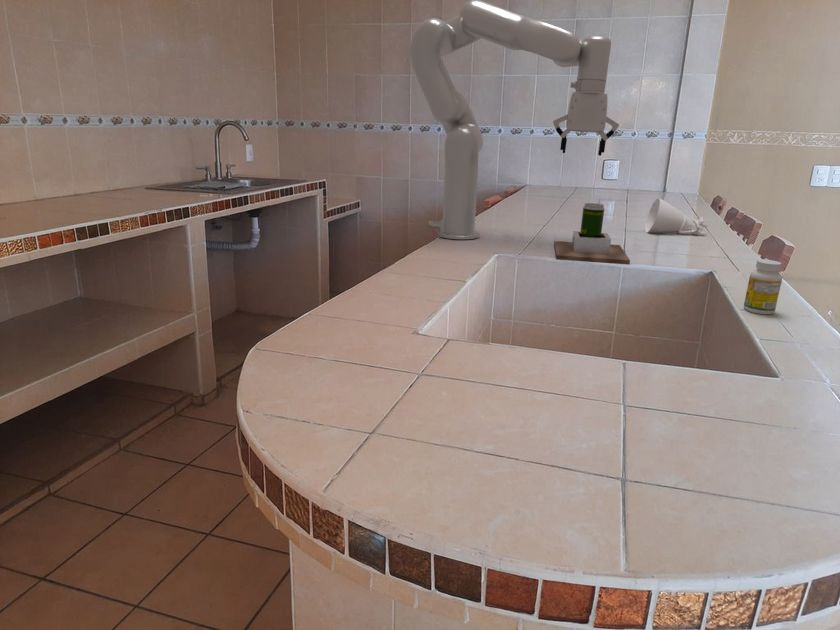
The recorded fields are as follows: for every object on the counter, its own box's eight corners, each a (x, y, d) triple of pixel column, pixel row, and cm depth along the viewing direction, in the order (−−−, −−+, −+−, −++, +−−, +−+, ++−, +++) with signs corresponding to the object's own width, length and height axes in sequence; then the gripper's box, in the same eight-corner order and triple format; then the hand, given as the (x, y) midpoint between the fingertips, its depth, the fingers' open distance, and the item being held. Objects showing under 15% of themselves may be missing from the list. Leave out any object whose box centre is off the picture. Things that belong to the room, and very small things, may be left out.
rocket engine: (716, 205, 191) (661, 190, 193) (715, 233, 185) (658, 217, 187) (699, 228, 201) (646, 213, 203) (697, 254, 195) (643, 239, 197)
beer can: (603, 250, 160) (609, 205, 156) (591, 252, 157) (596, 206, 153) (586, 246, 164) (591, 202, 160) (574, 249, 161) (579, 203, 157)
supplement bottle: (771, 316, 111) (782, 266, 108) (739, 310, 114) (750, 261, 111) (777, 310, 115) (788, 261, 112) (746, 304, 118) (756, 257, 115)
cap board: (556, 259, 153) (558, 239, 151) (554, 244, 171) (555, 226, 170) (629, 264, 150) (632, 244, 148) (619, 248, 168) (621, 230, 167)
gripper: (557, 85, 157) (549, 152, 163) (625, 88, 154) (615, 157, 159) (557, 87, 164) (549, 151, 170) (623, 90, 161) (613, 155, 166)
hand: (581, 154), depth 165 cm, fingers open, 9 cm apart
